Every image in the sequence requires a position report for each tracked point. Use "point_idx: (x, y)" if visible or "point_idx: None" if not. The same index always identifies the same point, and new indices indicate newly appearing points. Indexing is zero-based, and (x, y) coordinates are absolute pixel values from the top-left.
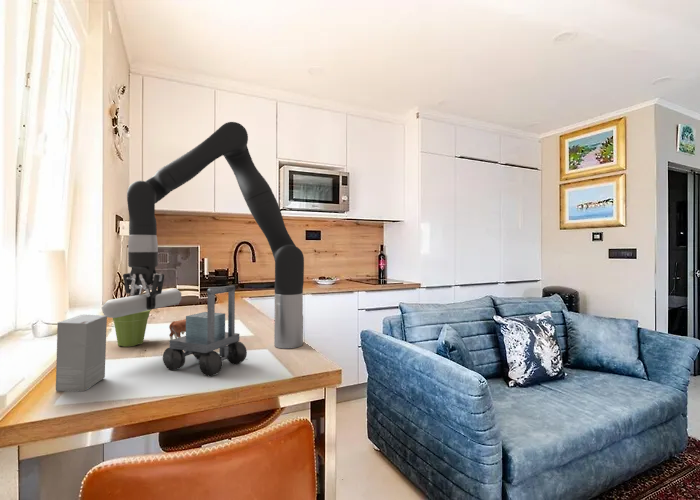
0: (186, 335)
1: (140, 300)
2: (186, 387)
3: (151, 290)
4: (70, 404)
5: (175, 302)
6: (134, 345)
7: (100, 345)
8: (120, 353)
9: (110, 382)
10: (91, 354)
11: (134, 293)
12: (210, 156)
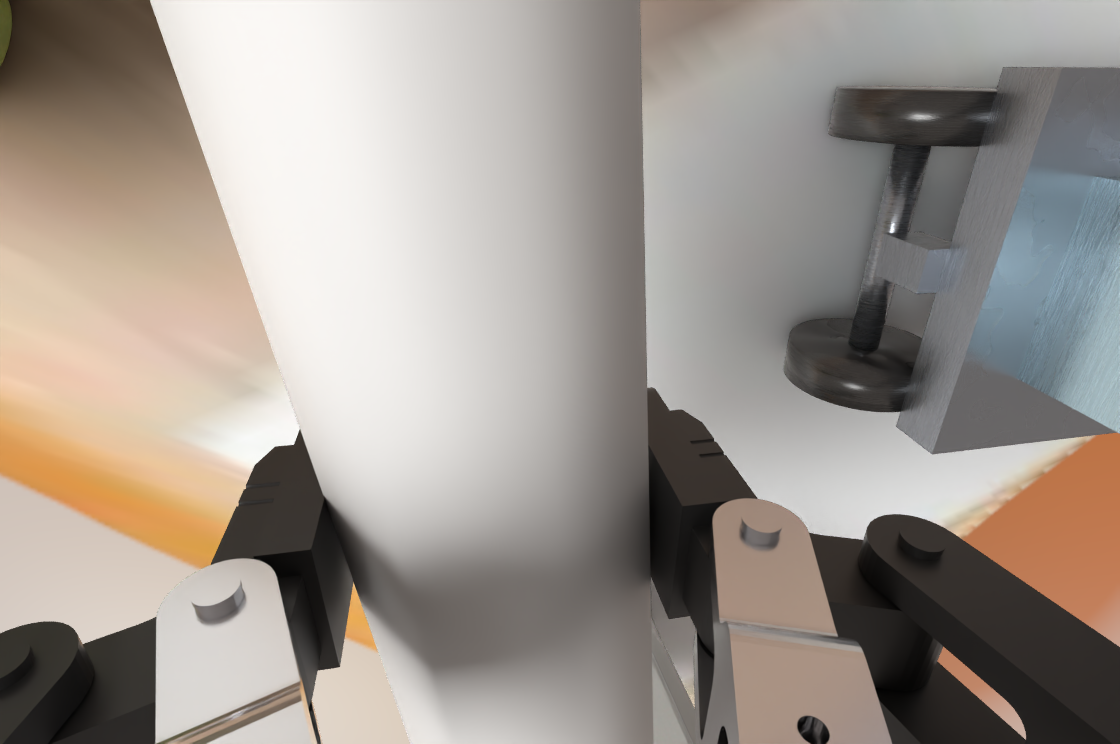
0: (1042, 387)
1: (649, 666)
2: (987, 450)
3: (714, 626)
4: None
5: None
6: (9, 24)
7: (694, 719)
8: (194, 254)
9: None
10: None
11: (311, 711)
12: None
